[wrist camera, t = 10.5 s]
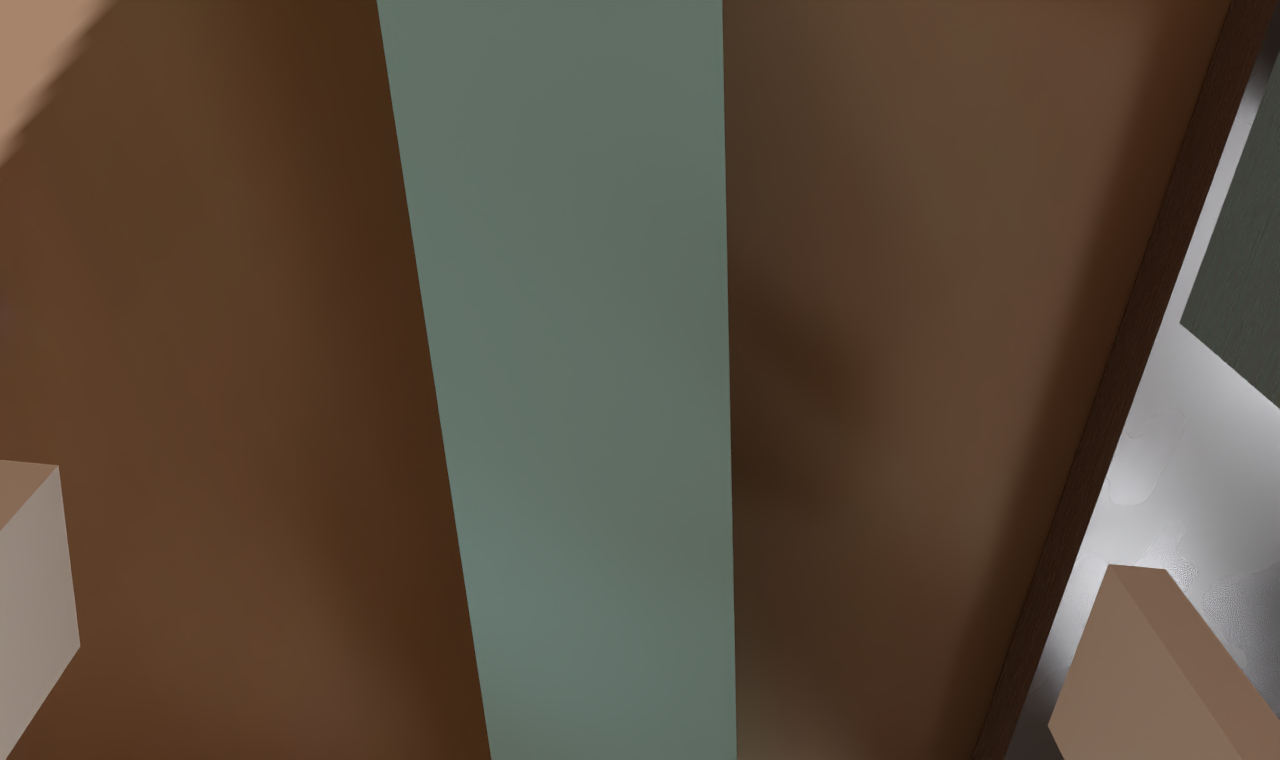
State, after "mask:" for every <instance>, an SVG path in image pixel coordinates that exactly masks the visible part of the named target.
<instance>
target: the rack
mask: <svg viewBox="0 0 1280 760" xmlns="http://www.w3.org/2000/svg"><path fill="white" fill-rule="evenodd" d="M1108 564H1116V565H1127V566H1138V567H1148V568H1159V569H1166V570H1167V572H1168V573H1169V574H1170V576H1171V577H1172V578H1173V580H1174V581H1175V582H1176V584H1177V585H1178V586H1179V588H1180V589H1181V590H1182V592H1183V593H1184V594H1185V596H1186V597H1187V598H1188V600H1189V601H1190V602H1191V604H1192V605H1193V606H1194V608H1195V609H1196V610H1197V612H1198V613H1199V614H1200V616H1201V617H1202V618H1203V619H1204V621H1205V622H1206V623H1207V625H1208V626H1209V627H1210V629H1211V630H1212V631H1213V633H1214V634H1215V635H1216V637H1217V638H1218V639H1219V641H1220V642H1221V643H1222V645H1223V646H1224V647H1225V649H1226V650H1227V651H1228V653H1229V654H1230V655H1231V657H1232V658H1233V659H1234V661H1235V662H1236V663H1237V665H1238V666H1239V667H1240V669H1241V670H1242V671H1243V673H1244V674H1245V675H1246V677H1247V678H1248V679H1249V680H1250V682H1251V683H1252V684H1253V686H1254V687H1255V688H1256V690H1257V691H1258V692H1259V694H1260V695H1261V696H1262V698H1263V699H1264V700H1265V702H1266V703H1267V704H1268V706H1269V707H1270V708H1271V710H1272V711H1273V712H1274V714H1275V715H1276V716H1277V718H1278V719H1279V720H1280V0H1232V3H1231V6H1230V9H1229V12H1228V15H1227V18H1226V21H1225V24H1224V26H1223V29H1222V32H1221V35H1220V38H1219V41H1218V44H1217V47H1216V50H1215V53H1214V56H1213V58H1212V61H1211V64H1210V67H1209V70H1208V73H1207V76H1206V79H1205V82H1204V85H1203V88H1202V91H1201V93H1200V96H1199V99H1198V102H1197V105H1196V108H1195V111H1194V114H1193V117H1192V120H1191V123H1190V125H1189V128H1188V131H1187V134H1186V137H1185V140H1184V143H1183V146H1182V149H1181V152H1180V155H1179V158H1178V160H1177V163H1176V166H1175V169H1174V172H1173V175H1172V178H1171V181H1170V184H1169V187H1168V190H1167V192H1166V195H1165V198H1164V201H1163V204H1162V207H1161V210H1160V213H1159V216H1158V219H1157V222H1156V224H1155V227H1154V230H1153V233H1152V236H1151V239H1150V242H1149V245H1148V248H1147V251H1146V254H1145V257H1144V259H1143V262H1142V265H1141V268H1140V271H1139V274H1138V277H1137V280H1136V283H1135V286H1134V289H1133V291H1132V294H1131V297H1130V300H1129V303H1128V306H1127V309H1126V312H1125V315H1124V318H1123V321H1122V324H1121V326H1120V329H1119V332H1118V335H1117V338H1116V341H1115V344H1114V347H1113V350H1112V353H1111V356H1110V358H1109V361H1108V364H1107V367H1106V370H1105V373H1104V376H1103V379H1102V382H1101V385H1100V388H1099V391H1098V393H1097V396H1096V399H1095V402H1094V405H1093V408H1092V411H1091V414H1090V417H1089V420H1088V423H1087V425H1086V428H1085V431H1084V434H1083V437H1082V440H1081V443H1080V446H1079V449H1078V452H1077V455H1076V457H1075V460H1074V463H1073V466H1072V469H1071V472H1070V475H1069V478H1068V481H1067V484H1066V487H1065V490H1064V492H1063V495H1062V498H1061V501H1060V504H1059V507H1058V510H1057V513H1056V516H1055V519H1054V522H1053V524H1052V527H1051V530H1050V533H1049V536H1048V539H1047V542H1046V545H1045V548H1044V551H1043V554H1042V557H1041V559H1040V562H1039V565H1038V568H1037V571H1036V574H1035V577H1034V580H1033V583H1032V586H1031V589H1030V591H1029V594H1028V597H1027V600H1026V603H1025V606H1024V609H1023V612H1022V615H1021V618H1020V621H1019V624H1018V626H1017V629H1016V632H1015V635H1014V638H1013V641H1012V644H1011V647H1010V650H1009V653H1008V656H1007V658H1006V661H1005V664H1004V667H1003V670H1002V673H1001V676H1000V679H999V682H998V685H997V688H996V690H995V693H994V696H993V699H992V702H991V705H990V708H989V711H988V714H987V717H986V720H985V723H984V725H983V728H982V731H981V734H980V737H979V740H978V743H977V746H976V749H975V752H974V755H973V757H972V760H1064V758H1063V756H1062V754H1061V752H1060V750H1059V748H1058V746H1057V744H1056V742H1055V739H1054V737H1053V735H1052V733H1051V731H1050V729H1049V727H1048V723H1049V721H1050V718H1051V715H1052V713H1053V710H1054V708H1055V705H1056V702H1057V700H1058V697H1059V694H1060V692H1061V689H1062V686H1063V684H1064V681H1065V678H1066V676H1067V673H1068V670H1069V668H1070V665H1071V662H1072V660H1073V657H1074V654H1075V652H1076V649H1077V646H1078V644H1079V641H1080V638H1081V636H1082V633H1083V631H1084V628H1085V625H1086V623H1087V620H1088V617H1089V615H1090V612H1091V609H1092V607H1093V604H1094V601H1095V599H1096V596H1097V593H1098V591H1099V588H1100V585H1101V583H1102V580H1103V577H1104V575H1105V572H1106V569H1107V567H1108Z"/></svg>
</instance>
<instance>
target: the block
mask: <svg viewBox="0 0 1280 760" xmlns="http://www.w3.org/2000/svg"><path fill="white" fill-rule="evenodd" d="M377 6H378V13H379V19H380V26H381V32H382V39H383V46H384V52H385V59H386V66H387V72H388V79H389V85H390V92H391V99H392V105H393V112H394V118H395V125H396V132H397V138H398V145H399V152H400V158H401V165H402V171H403V178H404V185H405V191H406V198H407V204H408V211H409V218H410V224H411V231H412V237H413V244H414V251H415V257H416V264H417V271H418V277H419V284H420V290H421V297H422V304H423V310H424V317H425V323H426V330H427V337H428V343H429V350H430V357H431V363H432V370H433V376H434V383H435V390H436V396H437V403H438V409H439V416H440V423H441V429H442V436H443V443H444V449H445V456H446V462H447V469H448V476H449V482H450V489H451V495H452V502H453V509H454V515H455V522H456V528H457V535H458V542H459V548H460V555H461V562H462V568H463V575H464V581H465V588H466V595H467V601H468V608H469V614H470V621H471V628H472V634H473V641H474V648H475V654H476V661H477V667H478V674H479V681H480V687H481V694H482V700H483V707H484V714H485V720H486V727H487V733H488V740H489V747H490V753H491V760H737V737H736V685H735V634H734V583H733V532H732V480H731V429H730V378H729V326H728V275H727V224H726V172H725V121H724V70H723V18H722V0H377Z"/></svg>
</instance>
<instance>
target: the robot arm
mask: <svg viewBox="0 0 1280 760" xmlns="http://www.w3.org/2000/svg"><path fill="white" fill-rule="evenodd" d="M79 647H80V639H79V630H78V622H77V614H76V606H75V597H74V589H73V581H72V573H71V564H70V556H69V548H68V540H67V531H66V523H65V515H64V507H63V498H62V490H61V482H60V474H59V465H50V464H40V463H29V462H18V461H8V460H0V760H6V758H7V757H8V755H9V754H10V752H11V751H12V749H13V748H14V746H15V745H16V743H17V741H18V740H19V738H20V737H21V735H22V734H23V732H24V731H25V729H26V728H27V726H28V725H29V723H30V722H31V720H32V719H33V717H34V716H35V714H36V713H37V711H38V710H39V708H40V707H41V705H42V704H43V702H44V701H45V699H46V697H47V696H48V694H49V693H50V691H51V690H52V688H53V687H54V685H55V684H56V682H57V681H58V679H59V678H60V676H61V675H62V673H63V672H64V670H65V669H66V667H67V666H68V664H69V663H70V661H71V660H72V658H73V657H74V655H75V653H76V652H77V650H78V649H79ZM1048 727H1049V729H1050V731H1051V733H1052V735H1053V737H1054V739H1055V742H1056V744H1057V746H1058V748H1059V750H1060V752H1061V754H1062V756H1063V758H1064V760H1280V720H1279V719H1278V718H1277V716H1276V715H1275V714H1274V712H1273V711H1272V710H1271V708H1270V707H1269V706H1268V704H1267V703H1266V702H1265V700H1264V699H1263V698H1262V696H1261V695H1260V694H1259V692H1258V691H1257V690H1256V688H1255V687H1254V686H1253V684H1252V683H1251V682H1250V680H1249V679H1248V678H1247V677H1246V675H1245V674H1244V673H1243V671H1242V670H1241V669H1240V667H1239V666H1238V665H1237V663H1236V662H1235V661H1234V659H1233V658H1232V657H1231V655H1230V654H1229V653H1228V651H1227V650H1226V649H1225V647H1224V646H1223V645H1222V643H1221V642H1220V641H1219V639H1218V638H1217V637H1216V635H1215V634H1214V633H1213V631H1212V630H1211V629H1210V627H1209V626H1208V625H1207V623H1206V622H1205V621H1204V619H1203V618H1202V617H1201V616H1200V614H1199V613H1198V612H1197V610H1196V609H1195V608H1194V606H1193V605H1192V604H1191V602H1190V601H1189V600H1188V598H1187V597H1186V596H1185V594H1184V593H1183V592H1182V590H1181V589H1180V588H1179V586H1178V585H1177V584H1176V582H1175V581H1174V580H1173V578H1172V577H1171V576H1170V574H1169V573H1168V572H1167V570H1166V569H1159V568H1148V567H1138V566H1127V565H1116V564H1108V567H1107V569H1106V572H1105V575H1104V577H1103V580H1102V583H1101V585H1100V588H1099V591H1098V593H1097V596H1096V599H1095V601H1094V604H1093V607H1092V609H1091V612H1090V615H1089V617H1088V620H1087V623H1086V625H1085V628H1084V631H1083V633H1082V636H1081V638H1080V641H1079V644H1078V646H1077V649H1076V652H1075V654H1074V657H1073V660H1072V662H1071V665H1070V668H1069V670H1068V673H1067V676H1066V678H1065V681H1064V684H1063V686H1062V689H1061V692H1060V694H1059V697H1058V700H1057V702H1056V705H1055V708H1054V710H1053V713H1052V715H1051V718H1050V721H1049V723H1048Z"/></svg>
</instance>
